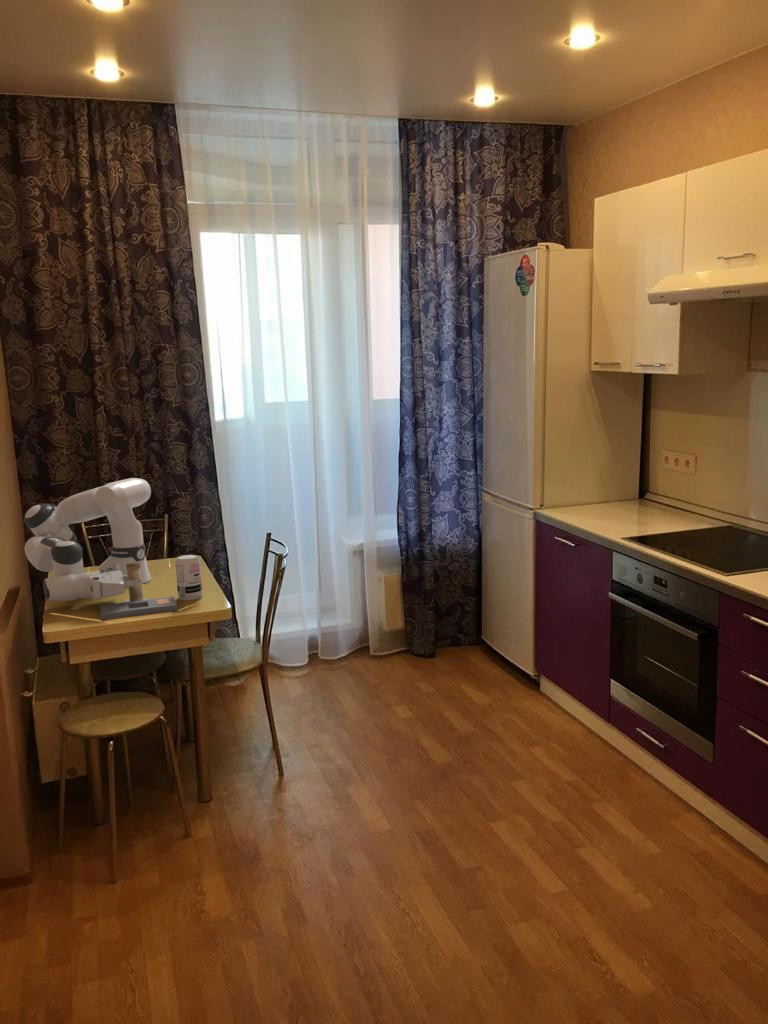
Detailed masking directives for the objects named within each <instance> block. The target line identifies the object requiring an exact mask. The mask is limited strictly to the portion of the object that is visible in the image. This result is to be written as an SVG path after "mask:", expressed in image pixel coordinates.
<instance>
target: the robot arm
mask: <svg viewBox="0 0 768 1024" xmlns="http://www.w3.org/2000/svg"><path fill="white" fill-rule="evenodd" d="M151 489H152V488H151V486H150V484H149V482H148V481H147V480H146V479H143V478H137V477H129V478H125V479H121V480H116V481H113V482H112V481H111V482H108V483H106V484H104V485H102V486H98V487H95V488H92V489H88V490H85V491H82V492H79V493H76V494H73V495H71V496H69V497H66V498H64V499H63V500H60V502H59V503H58V504H57V506H56V505H55V504H54V503H36V504H35V505H32V506H31V507H30V508H29V509H28V510H27V511H26V512H25V513H24V517H23V521H24V524H25V525H26V528H27V529H30V531H31V532H32V533H33V535H34V536H32V537H30V538H29V539H28V540H26V542H25V545H24V554H25V557H26V558H27V560H28V561H29V562H30V564H31V565H32V566H33V567H34V568H35V569H36V570H38V571H41V572H45V573H47V572H48V573H51V572H53V576H51V577H46V578H44V580H43V582H42V586H43V587H42V588H43V593H44V597H45V599H46V600H47V601H48V602H68V601H75V600H77V599H94V600H102V599H103V598H106V597H107V598H108V597H114V596H119V595H122V594H124V593H126V588H129V587H130V586H133V585H138V580H137V579H132V580H128V576H127V568H126V564H127V563H131V562H139V563H140V571H141V582H142V584H145V583H148V582H150V581H151V580H152V577H151V574H150V572H149V566H148V562H147V557H146V545H145V544H146V543H144V534H143V526H142V523H141V522H140V521H139V520H138V519H137V518H136V516H135V514H134V512H133V508H137V507H139V506H141V505H143V504H144V503H146V502H148V500H150V498H151V496H152V490H151ZM102 517H106V518H107V520H108V523H109V526H110V531H111V538H112V547H108V548H107V549H108V552H110V554H109V557H107V558H106V559H105V561H103V562H102V563H101V564H100V565H99V567H98V570H97V571H88V572H85V568H84V561H83V547H82V545H81V544H79V543H78V542H77V541H78V538H77V536H76V534H75V533H74V531H73V530H71V528H70V527H69V525H71V524H80V523H85V522H89V521H91V520H95V519H98V518H102Z"/></svg>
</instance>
